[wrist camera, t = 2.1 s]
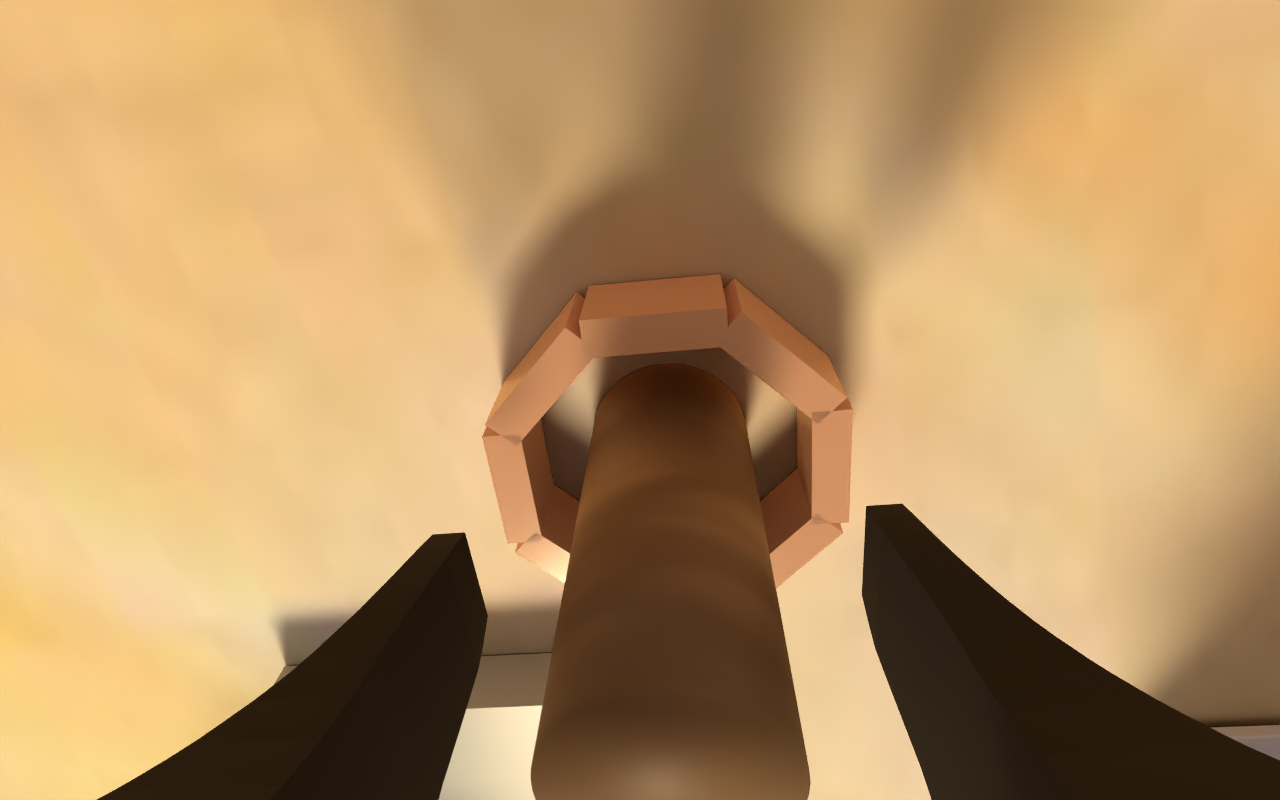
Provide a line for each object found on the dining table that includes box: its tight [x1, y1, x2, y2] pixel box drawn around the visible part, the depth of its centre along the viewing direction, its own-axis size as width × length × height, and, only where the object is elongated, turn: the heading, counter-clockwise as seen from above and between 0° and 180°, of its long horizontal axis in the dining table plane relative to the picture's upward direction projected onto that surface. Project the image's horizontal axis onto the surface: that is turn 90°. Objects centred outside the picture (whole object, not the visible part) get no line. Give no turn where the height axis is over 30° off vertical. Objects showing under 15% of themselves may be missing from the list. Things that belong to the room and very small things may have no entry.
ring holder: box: [482, 274, 853, 588], centre depth 16 cm, size 8×8×2 cm
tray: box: [274, 653, 552, 800], centre depth 23 cm, size 12×10×2 cm
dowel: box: [531, 364, 810, 800], centre depth 13 cm, size 4×4×9 cm
